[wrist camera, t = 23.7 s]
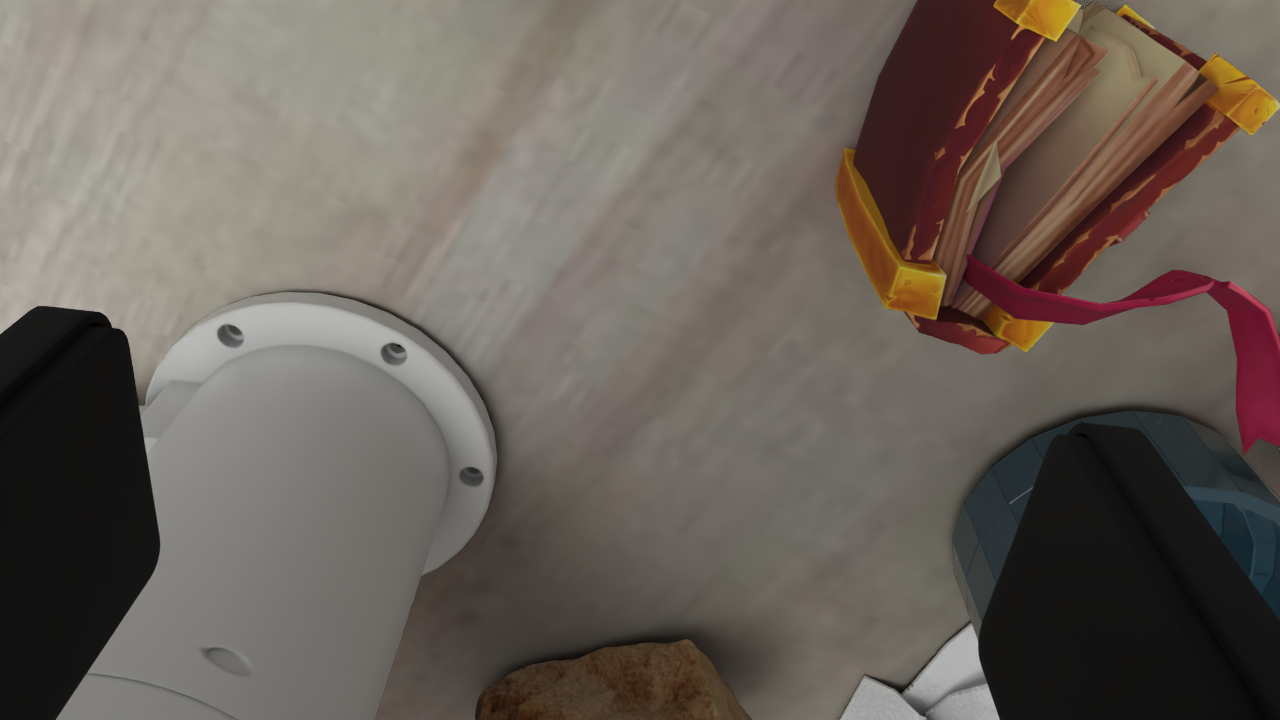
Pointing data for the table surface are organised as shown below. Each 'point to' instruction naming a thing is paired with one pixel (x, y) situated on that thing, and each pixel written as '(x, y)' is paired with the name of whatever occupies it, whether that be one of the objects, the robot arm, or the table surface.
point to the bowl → (1198, 457)
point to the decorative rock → (615, 687)
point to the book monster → (1041, 173)
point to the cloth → (932, 689)
